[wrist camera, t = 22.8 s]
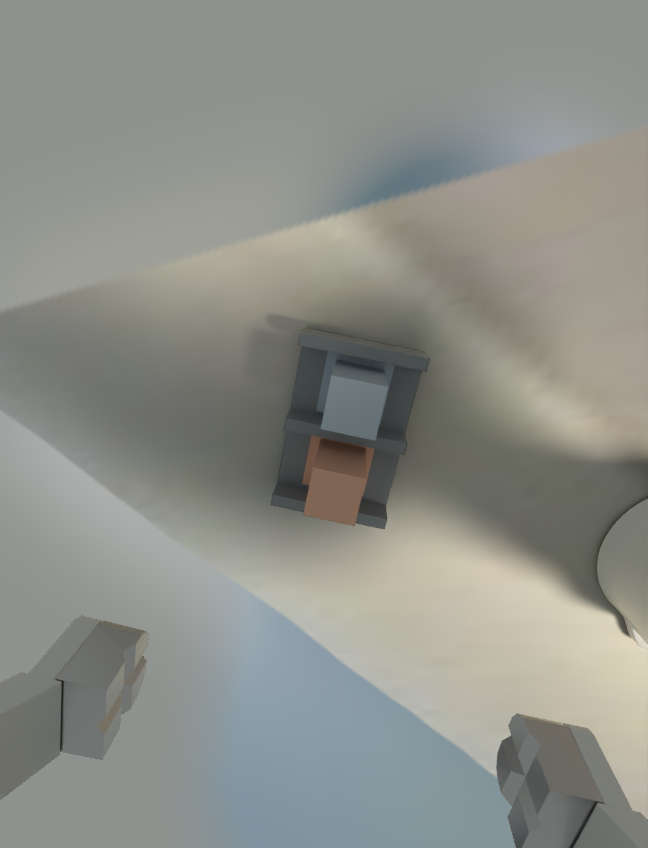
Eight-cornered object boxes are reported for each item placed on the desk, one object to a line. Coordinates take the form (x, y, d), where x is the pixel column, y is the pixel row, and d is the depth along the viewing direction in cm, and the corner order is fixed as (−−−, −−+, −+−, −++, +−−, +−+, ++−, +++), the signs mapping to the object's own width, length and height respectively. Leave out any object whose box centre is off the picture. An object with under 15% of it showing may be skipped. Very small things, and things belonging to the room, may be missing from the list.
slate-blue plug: (384, 369, 38) (388, 386, 32) (373, 415, 39) (375, 440, 33) (336, 359, 38) (331, 375, 32) (327, 405, 39) (320, 429, 33)
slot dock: (423, 351, 38) (429, 358, 35) (382, 510, 43) (384, 529, 40) (306, 327, 38) (300, 331, 35) (277, 487, 43) (270, 504, 40)
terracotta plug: (365, 448, 40) (366, 478, 34) (356, 489, 41) (354, 526, 35) (320, 438, 40) (312, 467, 34) (312, 480, 41) (303, 515, 35)
